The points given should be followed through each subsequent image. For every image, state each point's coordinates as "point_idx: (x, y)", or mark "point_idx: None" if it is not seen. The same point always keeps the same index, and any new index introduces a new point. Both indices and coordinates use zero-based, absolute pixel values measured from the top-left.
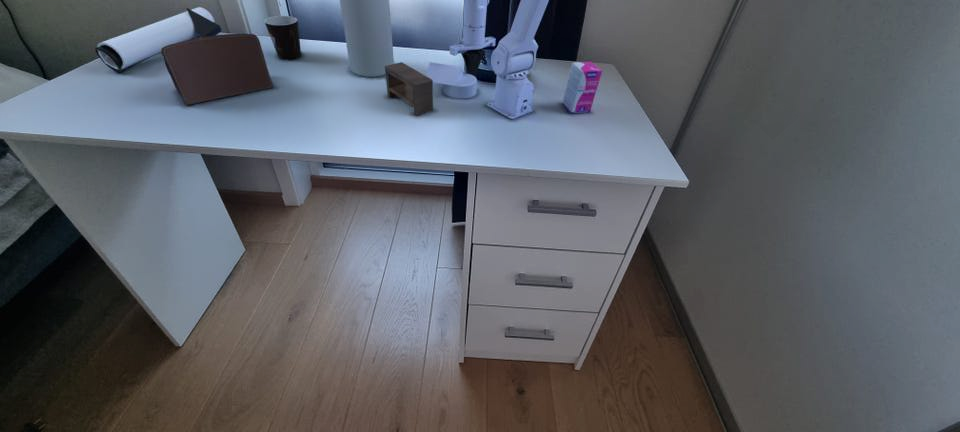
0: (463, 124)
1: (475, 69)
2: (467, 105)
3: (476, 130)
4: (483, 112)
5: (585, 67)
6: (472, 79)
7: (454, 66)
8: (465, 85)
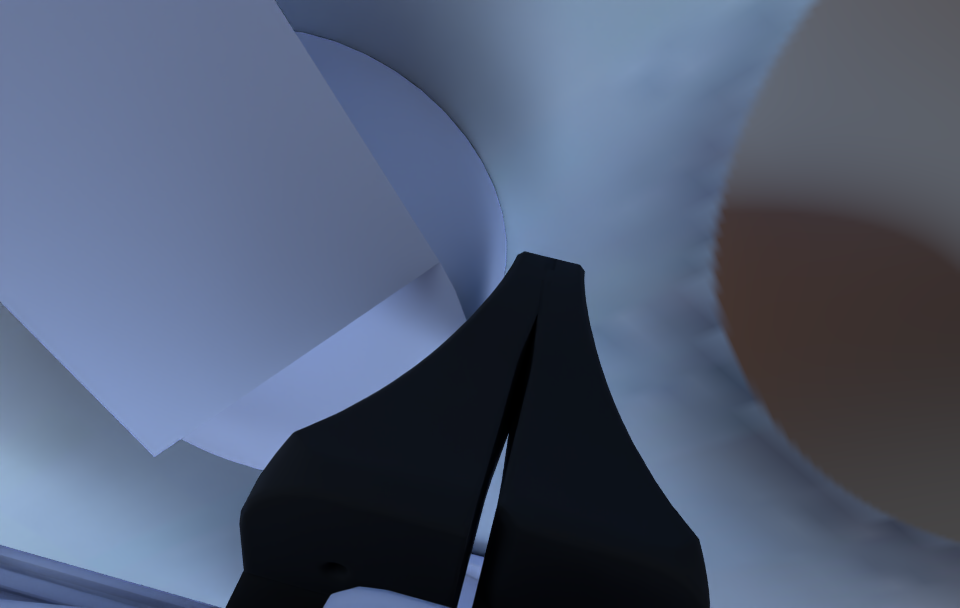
0: (8, 489)
1: (502, 449)
2: None
3: (49, 556)
4: (226, 521)
5: None
6: None
7: (83, 381)
8: (192, 433)
